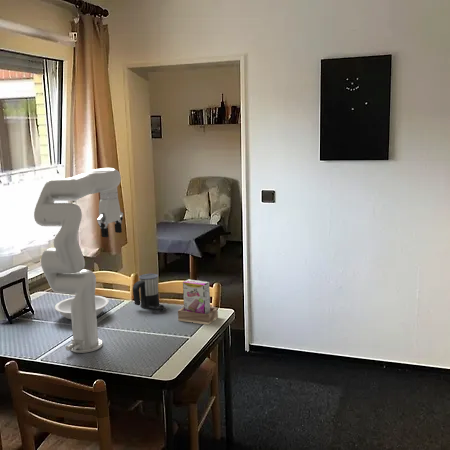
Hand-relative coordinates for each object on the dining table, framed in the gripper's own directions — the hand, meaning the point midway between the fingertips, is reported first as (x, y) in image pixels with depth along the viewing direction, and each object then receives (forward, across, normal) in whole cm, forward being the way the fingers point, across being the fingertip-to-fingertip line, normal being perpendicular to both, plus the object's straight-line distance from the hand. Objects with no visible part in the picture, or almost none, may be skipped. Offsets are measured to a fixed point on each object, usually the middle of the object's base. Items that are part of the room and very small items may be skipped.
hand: (111, 234), depth 236 cm
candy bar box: (+38, -10, +36) cm, 53 cm away
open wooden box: (+38, -10, +36) cm, 54 cm away
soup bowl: (+39, +6, -15) cm, 42 cm away
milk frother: (+39, -16, +9) cm, 43 cm away
